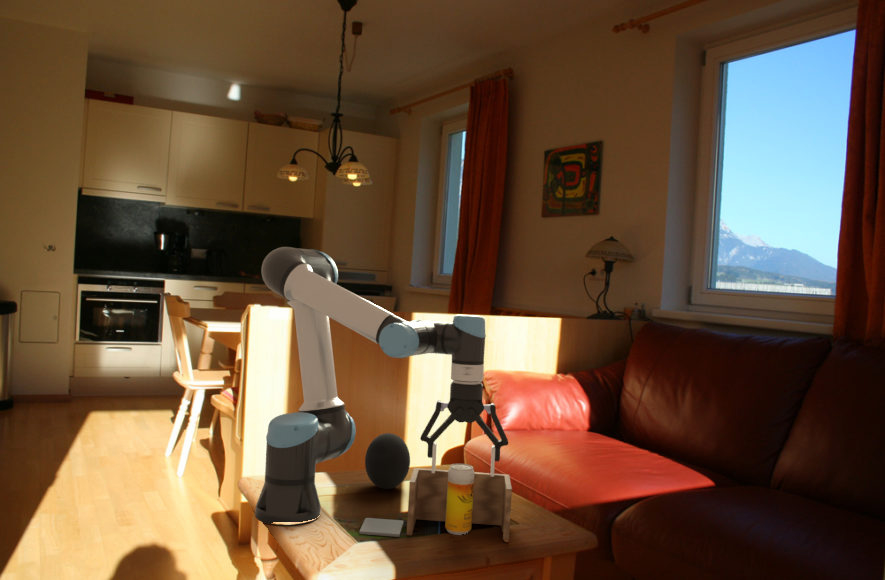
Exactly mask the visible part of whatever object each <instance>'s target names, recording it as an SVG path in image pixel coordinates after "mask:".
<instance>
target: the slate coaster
mask: <svg viewBox="0 0 885 580" xmlns="http://www.w3.org/2000/svg"><path fill="white" fill-rule="evenodd" d="M403 525H404V520H400V519H390V518H389V519H388V518H387V519H385V518H377V517H376V518H374V517H365V519H364V520H363V522H362V525H361V527H360V529H359V532H358V533H359V535H370V536H382V537H383V536H385V537H395V538H396V537H397V538H400V535H401V533H402V529H403Z"/></svg>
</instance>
